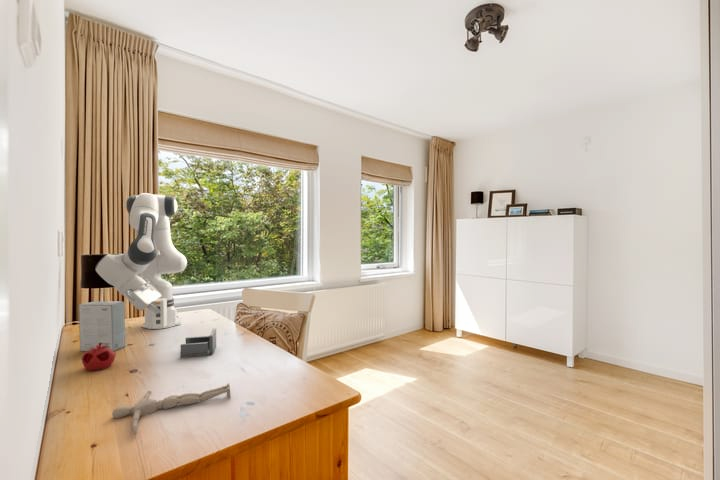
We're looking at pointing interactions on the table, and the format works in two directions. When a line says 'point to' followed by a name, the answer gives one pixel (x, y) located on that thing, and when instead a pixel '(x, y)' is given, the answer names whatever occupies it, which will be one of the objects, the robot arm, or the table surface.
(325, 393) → the table surface
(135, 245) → the robot arm
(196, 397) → the artist's mannequin
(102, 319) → the hard drive box
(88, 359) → the pomegranate
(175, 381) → the table surface
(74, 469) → the table surface
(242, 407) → the table surface
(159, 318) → the ivory rectangular block
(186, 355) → the bracket
